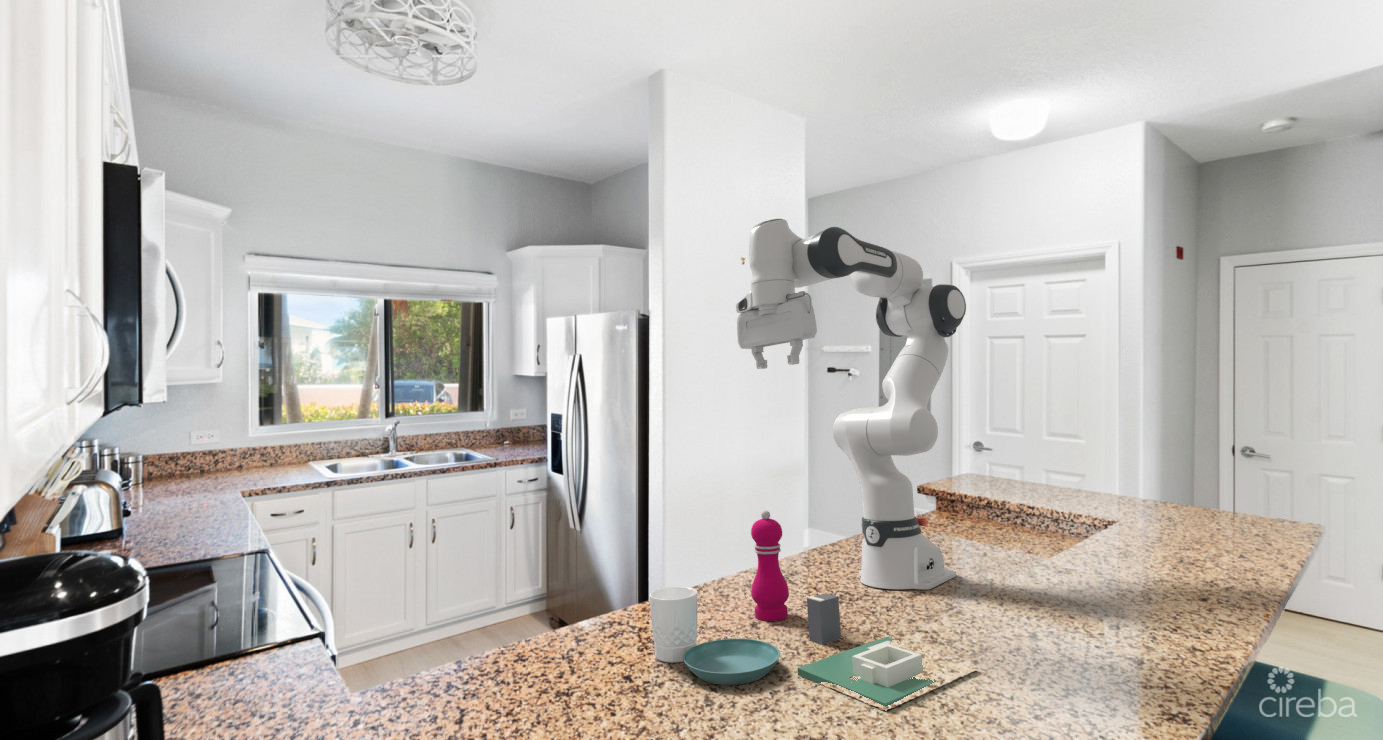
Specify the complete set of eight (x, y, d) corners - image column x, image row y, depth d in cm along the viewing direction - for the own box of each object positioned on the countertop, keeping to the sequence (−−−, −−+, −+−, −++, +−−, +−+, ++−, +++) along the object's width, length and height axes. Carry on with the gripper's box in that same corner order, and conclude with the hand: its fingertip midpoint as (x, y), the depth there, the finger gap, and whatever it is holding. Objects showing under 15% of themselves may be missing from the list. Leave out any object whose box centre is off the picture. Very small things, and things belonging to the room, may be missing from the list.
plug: (828, 634, 113) (825, 592, 114) (841, 638, 111) (838, 595, 111) (809, 640, 111) (806, 597, 111) (822, 645, 108) (819, 600, 109)
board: (886, 643, 108) (885, 621, 108) (976, 671, 94) (974, 646, 95) (797, 674, 96) (796, 650, 96) (885, 711, 83) (883, 683, 83)
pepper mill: (789, 622, 121) (782, 512, 122) (750, 622, 122) (744, 513, 124) (791, 610, 128) (785, 507, 129) (754, 610, 129) (748, 508, 131)
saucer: (742, 647, 109) (741, 631, 110) (801, 674, 97) (800, 655, 97) (666, 669, 102) (665, 652, 102) (720, 701, 89) (719, 681, 89)
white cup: (683, 667, 101) (680, 601, 102) (642, 660, 105) (639, 596, 106) (709, 651, 108) (706, 589, 109) (669, 644, 112) (667, 585, 113)
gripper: (821, 290, 126) (826, 361, 125) (753, 307, 143) (757, 371, 142) (797, 287, 122) (802, 361, 121) (730, 306, 139) (734, 371, 138)
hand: (777, 366), depth 132 cm, fingers open, 8 cm apart
